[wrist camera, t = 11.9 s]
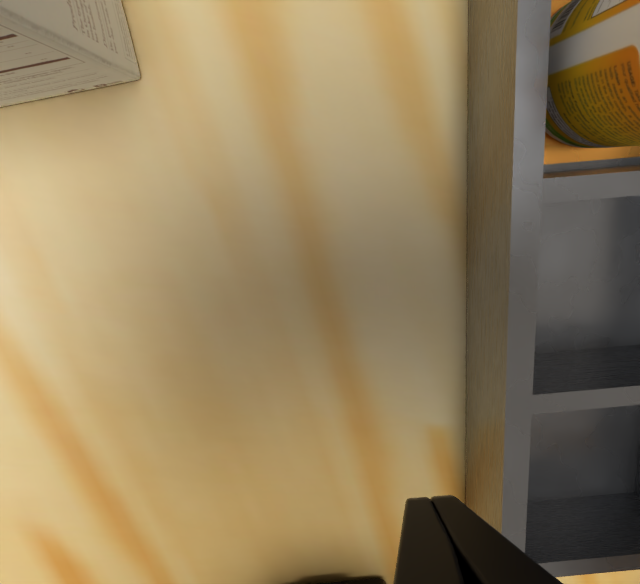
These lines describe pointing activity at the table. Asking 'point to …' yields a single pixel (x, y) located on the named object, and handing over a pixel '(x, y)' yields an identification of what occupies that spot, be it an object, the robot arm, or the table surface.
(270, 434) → the table surface
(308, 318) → the table surface
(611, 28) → the supplement bottle
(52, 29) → the supplement box
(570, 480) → the compartment organizer tray
